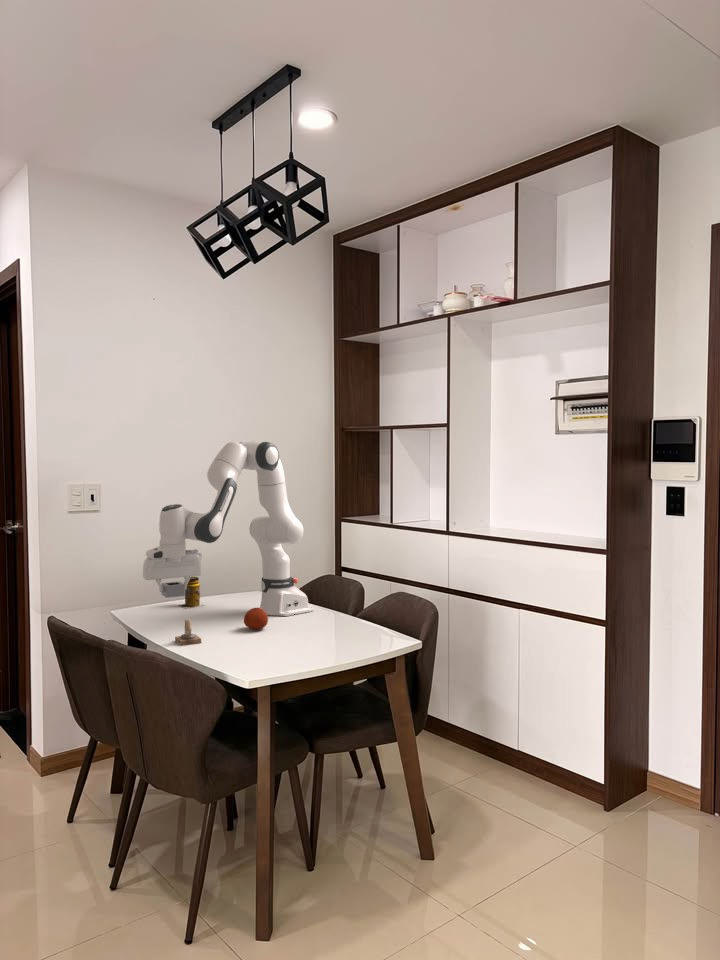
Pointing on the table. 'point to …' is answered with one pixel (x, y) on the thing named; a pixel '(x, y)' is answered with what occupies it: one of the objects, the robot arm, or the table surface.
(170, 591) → the grey square frame
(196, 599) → the condiment
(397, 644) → the table surface
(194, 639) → the post block
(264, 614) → the fruit
